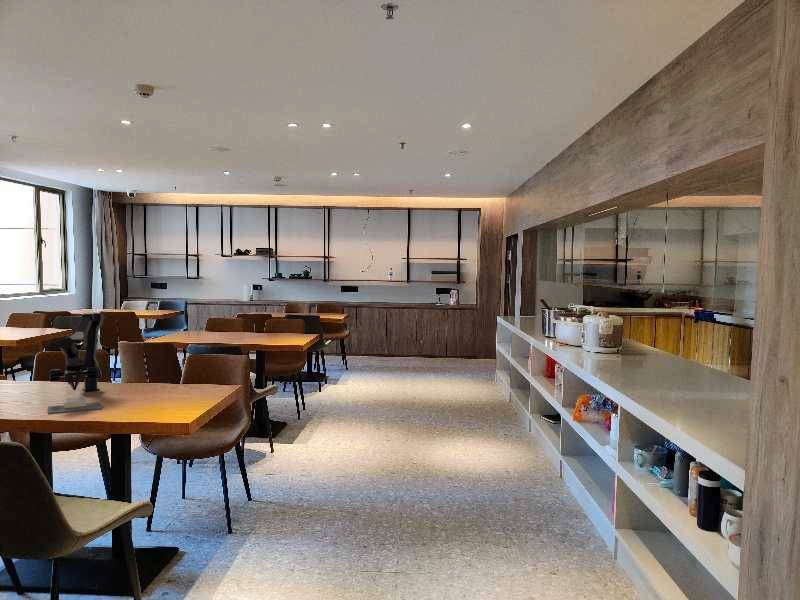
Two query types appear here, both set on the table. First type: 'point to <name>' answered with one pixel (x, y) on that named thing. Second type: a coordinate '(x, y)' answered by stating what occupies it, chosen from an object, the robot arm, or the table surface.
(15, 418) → the table surface
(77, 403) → the glazed tile
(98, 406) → the mat
